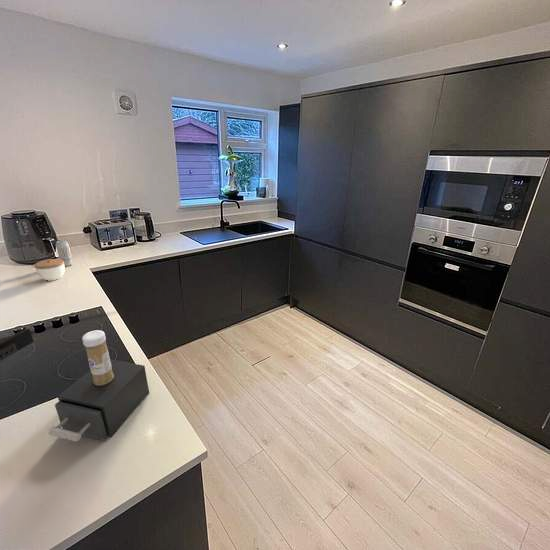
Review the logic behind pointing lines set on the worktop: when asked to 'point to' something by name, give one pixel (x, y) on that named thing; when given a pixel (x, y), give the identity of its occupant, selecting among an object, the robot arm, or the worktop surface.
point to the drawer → (78, 422)
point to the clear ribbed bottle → (64, 252)
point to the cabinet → (111, 393)
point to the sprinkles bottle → (98, 357)
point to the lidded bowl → (50, 269)
